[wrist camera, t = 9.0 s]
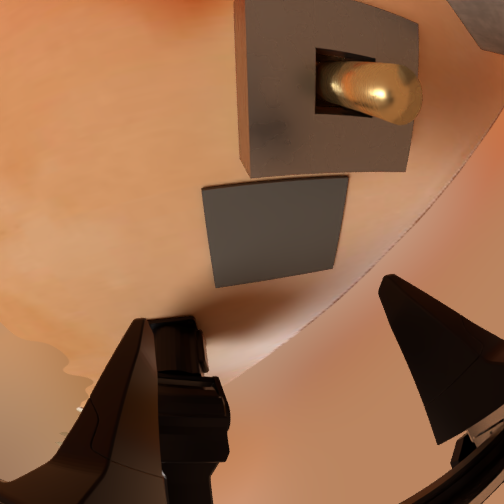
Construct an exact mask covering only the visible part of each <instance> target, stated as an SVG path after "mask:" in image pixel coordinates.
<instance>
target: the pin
mask: <svg viewBox="0 0 504 504" xmlns="http://www.w3.org/2000/svg"><path fill="white" fill-rule="evenodd" d="M315 99H318V100H322V101H326V102H330V103H333V104H337V105H340V106H344V107H347V108H350V109H353V110H357V111H360V112H363V113H366V114H368V115H371V116H374V117H377V118H380V119H382V120H385V121H388V122H390V123H393V124H396V125H405V124H408V123H410V122H411V121H413V120H414V119H415V117H416V116H417V115H418V113H419V111H420V108H421V105H422V88H421V85H420V82H419V80H418V78H417V76H416V75H415V74H414V72H413V71H412V70H410V69H409V68H408V67H406V66H403V65H400V64H391V63H378V62H358V61H324V62H316V77H315Z"/></svg>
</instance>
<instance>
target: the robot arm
mask: <svg viewBox="0 0 504 504" xmlns="http://www.w3.org/2000/svg"><path fill="white" fill-rule="evenodd" d="M378 294H379V297H380V300H381V303H382V305H383V308H384V310H385V313H386V316H387V318H388V321H389V324H390V326H391V329H392V331H393V333H394V335H395V337H396V340H397V342H398V344H399V346H400V348H401V351H402V353H403V355H404V357H405V360H406V362H407V364H408V367H409V369H410V371H411V374H412V376H413V379H414V381H415V384H416V386H417V389H418V391H419V394H420V396H421V399H422V402H423V404H424V406H425V410H426V412H427V416H428V418H429V421H430V424H431V427H432V430H433V433H434V436H435V439H436V442H437V445H440V444H442V443H443V442H445V441H447V440H449V439H451V438H453V437H454V436H456V435H458V434H460V433H462V432H463V431H465V430H466V431H467V433H466V434H464V435H463V436H462V437H461V438H459V439H458V440H457V442H456V445H455V449H454V452H453V456H452V459H451V462H450V463H451V466H452V469H451V470H450V471H448V472H447V473H446V474H445V475H443V476H442V477H441V478H439V479H438V480H436V481H435V482H433V483H432V484H430V485H429V486H428V487H426V488H424V489H423V490H421V491H419V492H418V493H416V494H415V495H413V496H411V497H410V498H408V499H406V500H405V501H403V502H401V503H399V504H482V503H483V502H484V501H485V500H486V499H487V498H488V497H489V496H490V495H491V494H492V493H493V492H494V491H495V490H496V489H497V488H498V487H499V486H500V485H501V484H502V483H503V482H504V340H503V339H500V338H499V337H497V336H496V335H494V334H492V333H490V332H488V331H486V330H485V329H483V328H481V327H479V326H478V325H476V324H474V323H473V322H471V321H470V320H468V319H466V318H465V317H463V316H462V315H460V314H459V313H457V312H456V311H454V310H452V309H451V308H449V307H448V306H446V305H444V304H443V303H441V302H440V301H438V300H436V299H435V298H433V297H432V296H430V295H428V294H427V293H425V292H423V291H422V290H420V289H418V288H417V287H415V286H413V285H412V284H410V283H408V282H407V281H405V280H403V279H401V278H400V277H398V276H396V275H395V274H389V275H386V276H384V277H383V280H382V282H381V285H380V287H379V291H378ZM208 371H209V367H208V359H207V351H206V343H205V339H204V336H203V332H202V331H201V330H198V327H197V324H196V320H195V318H194V317H192V316H187V317H180V318H172V319H164V320H155V321H147V320H146V318H137V319H134V320H133V322H132V323H131V325H130V326H129V328H128V330H127V331H126V333H125V335H124V336H123V338H122V340H121V341H120V343H119V345H118V347H117V348H116V350H115V352H114V353H113V355H112V357H111V359H110V360H109V362H108V364H107V366H106V367H105V369H104V371H103V373H102V375H101V376H100V378H99V380H98V382H97V384H96V386H95V387H94V389H93V391H92V393H91V395H90V398H89V399H88V400H87V402H86V404H85V406H84V408H83V410H82V412H81V414H80V415H79V417H78V419H77V421H76V422H75V424H74V426H73V427H72V429H71V430H70V432H69V434H68V435H67V437H66V438H65V440H64V441H63V443H62V445H61V446H60V448H59V450H58V451H57V453H56V454H55V455H54V456H53V458H52V459H51V460H50V461H48V462H47V463H45V464H44V465H42V466H40V467H38V468H37V469H35V470H33V471H31V472H29V473H27V474H25V475H23V476H22V477H19V478H18V479H15V480H13V481H11V482H6V481H4V480H2V479H0V504H213V498H212V489H211V475H212V473H213V472H214V470H215V469H216V467H217V465H218V464H219V462H225V461H226V460H227V457H228V455H229V452H230V451H229V445H228V437H227V431H228V429H229V426H230V409H229V405H228V402H227V400H226V397H225V394H224V391H223V389H222V386H221V383H220V380H219V377H217V376H213V377H204V373H207V372H208Z"/></svg>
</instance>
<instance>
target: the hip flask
mask: <svg viewBox="0 0 504 504" xmlns="http://www.w3.org/2000/svg"><path fill="white" fill-rule="evenodd" d="M447 1H448V3H449V4H450V5H451V7H452V8H453V10H454V11H455V13H456V14H457V15H458V17H459V18H460V20H461V21H462V23H463V24H464V25H465V27H466V28H467V30H468V31H469V33H470V34H471V35H472V37H473V38H474V40H475V41H476V43H477V44H478V46H479V47H480V48H481V49H482V50H486V51H490V52H494V53H498V54H502V55H504V0H447Z"/></svg>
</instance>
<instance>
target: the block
mask: <svg viewBox="0 0 504 504" xmlns="http://www.w3.org/2000/svg"><path fill="white" fill-rule="evenodd" d="M234 31H235V59H236V84H237V108H238V131H239V153H240V160H241V162H242V164H243V166H244V167H245V169H246V171H247V173H248V175H249V177H250V178H261V177H272V176H285V175H299V174H317V173H340V172H406V167H407V162H408V156H409V151H410V145H411V138H412V131H413V124H414V120H413V121H411V122H410V123H408V124H405V125H396V124H393V123H390V122H388V121H385V120H382V119H380V118H377V117H374V116H371V115H368V114H366V113H363V112H360V111H357V110H353V109H350V108H347V107H344V106H343V108H335V107H319V106H315V77H316V54H322V55H329V56H336V57H342V58H345V61H358V62H378V63H391V64H400V65H403V66H406V67H408V68H409V69H410V70H412V71H413V72H414V74H415V75H416V76H417V78H418V60H419V34H418V24H417V23H415V22H412V21H410V20H408V19H405V18H403V17H401V16H398V15H396V14H393V13H390V12H388V11H385V10H382V9H379V8H376V7H373V6H370V5H367V4H364V3H360V2H357V1H353V0H235V1H234Z"/></svg>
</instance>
